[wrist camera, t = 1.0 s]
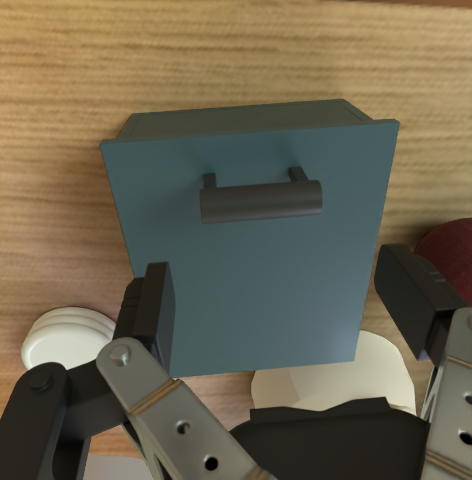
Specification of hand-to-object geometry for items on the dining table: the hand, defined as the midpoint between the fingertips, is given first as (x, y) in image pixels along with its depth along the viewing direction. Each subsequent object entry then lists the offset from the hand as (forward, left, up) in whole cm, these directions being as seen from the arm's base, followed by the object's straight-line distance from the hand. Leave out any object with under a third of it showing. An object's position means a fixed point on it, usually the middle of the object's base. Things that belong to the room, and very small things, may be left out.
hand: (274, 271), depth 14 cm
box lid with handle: (+8, 0, -10) cm, 12 cm away
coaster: (+22, -19, -19) cm, 35 cm away
